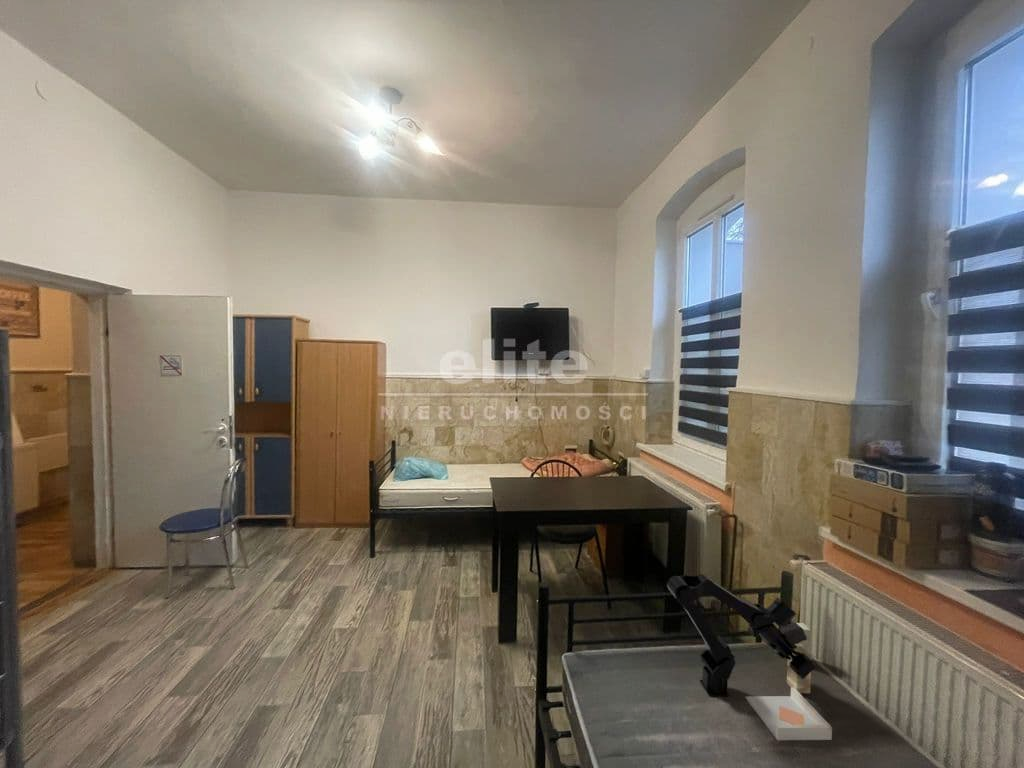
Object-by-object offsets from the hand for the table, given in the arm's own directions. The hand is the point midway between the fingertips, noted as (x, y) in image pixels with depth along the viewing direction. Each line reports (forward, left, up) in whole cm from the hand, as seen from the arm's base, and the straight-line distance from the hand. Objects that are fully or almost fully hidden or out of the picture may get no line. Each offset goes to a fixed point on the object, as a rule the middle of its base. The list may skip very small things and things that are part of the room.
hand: (803, 668), depth 136 cm
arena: (-14, -11, -7) cm, 19 cm away
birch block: (-1, 0, -7) cm, 7 cm away
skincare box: (+9, +14, -7) cm, 18 cm away
